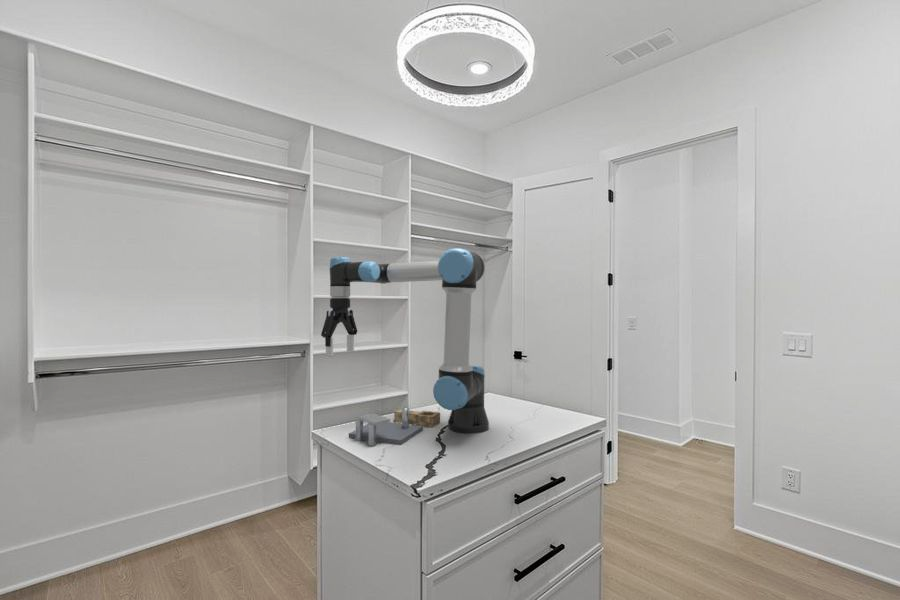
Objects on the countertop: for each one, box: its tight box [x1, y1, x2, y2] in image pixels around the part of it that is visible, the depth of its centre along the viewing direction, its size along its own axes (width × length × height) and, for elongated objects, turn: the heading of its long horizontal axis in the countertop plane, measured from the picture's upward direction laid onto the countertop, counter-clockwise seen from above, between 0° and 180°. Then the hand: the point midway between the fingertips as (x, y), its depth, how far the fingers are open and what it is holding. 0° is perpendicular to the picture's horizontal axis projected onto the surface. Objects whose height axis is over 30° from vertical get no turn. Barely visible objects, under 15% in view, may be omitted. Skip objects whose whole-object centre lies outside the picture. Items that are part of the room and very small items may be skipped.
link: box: [393, 409, 441, 429], centre depth 170 cm, size 17×7×4 cm, turn 69°
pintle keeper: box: [355, 407, 410, 447], centre depth 152 cm, size 13×19×8 cm
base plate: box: [348, 422, 424, 446], centre depth 155 cm, size 20×17×2 cm
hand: (340, 353), depth 169 cm, fingers open, 13 cm apart
